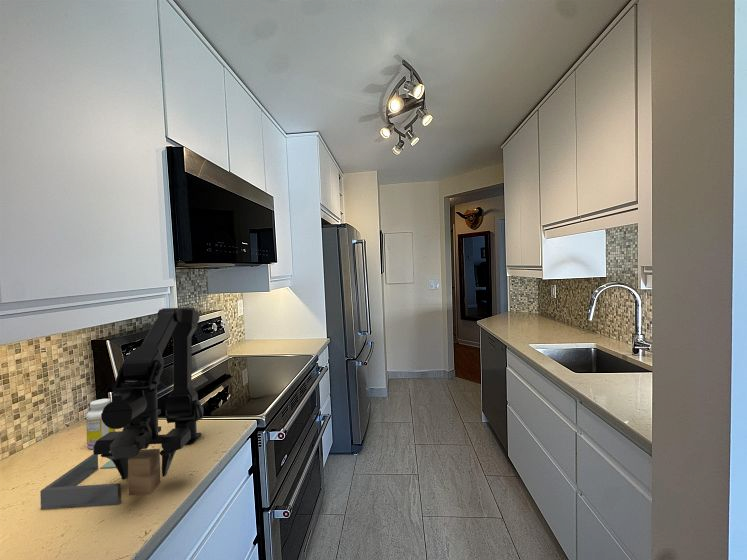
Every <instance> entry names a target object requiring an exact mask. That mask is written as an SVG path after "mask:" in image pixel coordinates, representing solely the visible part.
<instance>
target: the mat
mask: <svg viewBox="0 0 747 560" xmlns="http://www.w3.org/2000/svg"><path fill="white" fill-rule="evenodd" d="M100 469H104V470H105V469H117V468H116V466H115V464H114V463H113V461H112V460H111V459H109V460H108V461H107V462H105V463H104V464H103V465H102V466H100Z"/></svg>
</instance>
